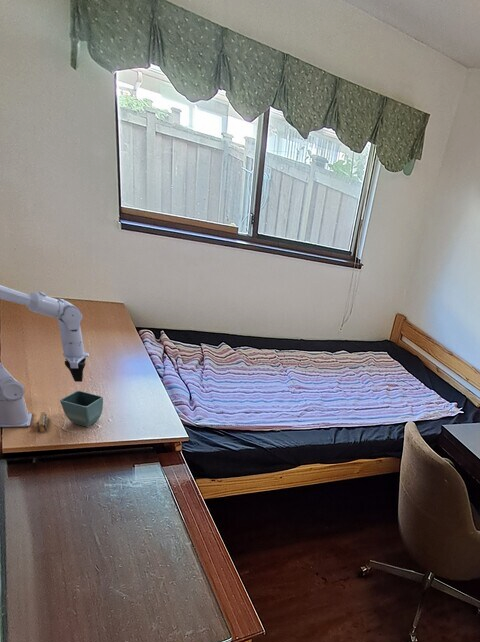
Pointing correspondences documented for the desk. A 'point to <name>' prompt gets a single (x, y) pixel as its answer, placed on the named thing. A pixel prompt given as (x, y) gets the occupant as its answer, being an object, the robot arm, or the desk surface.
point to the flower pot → (82, 407)
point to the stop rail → (43, 422)
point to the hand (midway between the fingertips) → (78, 379)
